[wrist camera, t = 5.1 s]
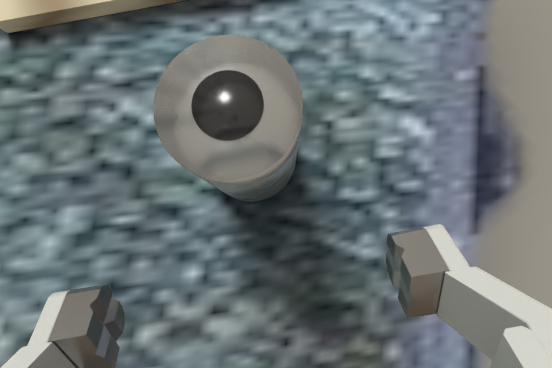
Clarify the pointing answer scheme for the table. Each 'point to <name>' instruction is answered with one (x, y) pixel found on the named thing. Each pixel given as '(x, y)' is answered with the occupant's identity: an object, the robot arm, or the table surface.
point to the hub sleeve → (231, 115)
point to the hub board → (63, 11)
